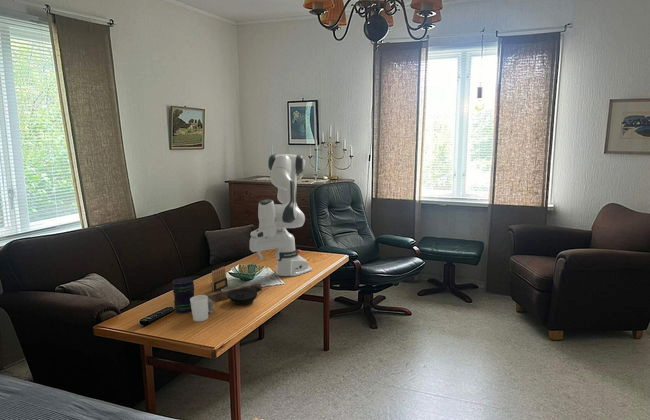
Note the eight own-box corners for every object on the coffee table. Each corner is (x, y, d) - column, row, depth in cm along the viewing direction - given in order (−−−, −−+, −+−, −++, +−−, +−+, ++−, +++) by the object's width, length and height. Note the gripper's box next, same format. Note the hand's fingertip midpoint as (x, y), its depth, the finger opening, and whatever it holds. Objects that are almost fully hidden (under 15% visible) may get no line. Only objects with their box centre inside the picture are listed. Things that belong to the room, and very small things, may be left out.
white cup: (193, 323, 198) (191, 302, 196) (191, 317, 205) (189, 296, 204) (211, 320, 201) (209, 299, 199) (208, 314, 208) (206, 293, 207)
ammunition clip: (214, 292, 239) (212, 270, 238) (211, 291, 240) (210, 270, 238) (227, 286, 248) (226, 265, 247) (225, 285, 249) (223, 265, 248)
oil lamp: (270, 296, 228) (269, 287, 227) (244, 309, 212) (243, 299, 211) (248, 292, 236) (248, 283, 235) (221, 304, 220) (221, 295, 219)
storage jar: (195, 304, 221) (192, 276, 219) (197, 311, 212) (194, 281, 210) (174, 308, 218) (171, 279, 216) (175, 315, 209) (172, 284, 206)
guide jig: (259, 289, 240) (259, 280, 240) (272, 296, 228) (272, 287, 227) (199, 304, 222) (198, 294, 221) (210, 312, 210) (209, 302, 209)
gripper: (282, 227, 236) (284, 253, 238) (247, 233, 225) (249, 259, 227) (288, 229, 231) (289, 255, 233) (252, 235, 220) (254, 262, 222)
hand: (269, 257), depth 230 cm, fingers open, 8 cm apart
